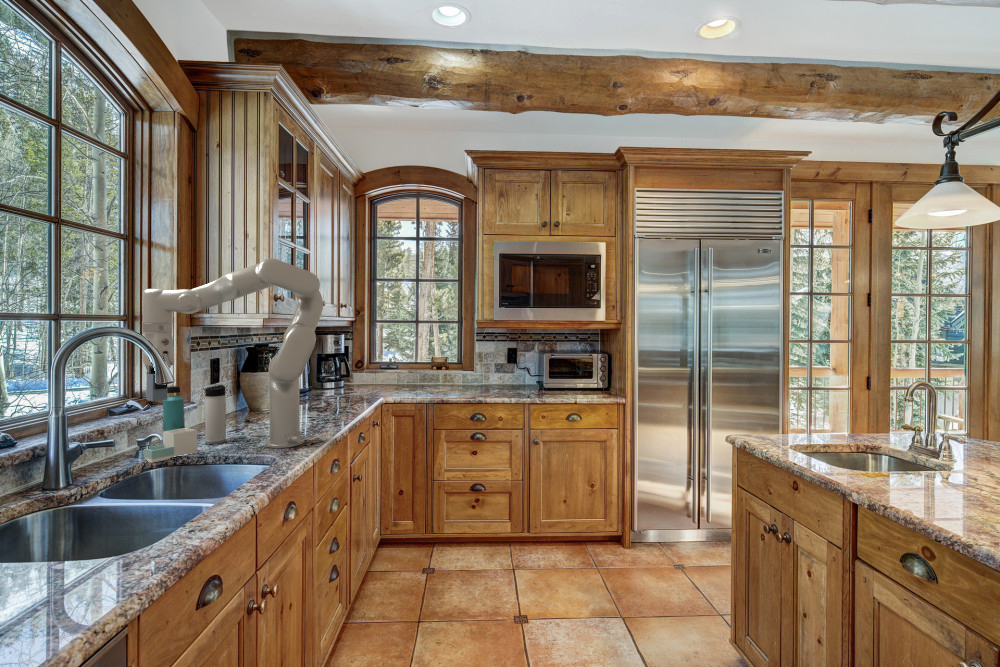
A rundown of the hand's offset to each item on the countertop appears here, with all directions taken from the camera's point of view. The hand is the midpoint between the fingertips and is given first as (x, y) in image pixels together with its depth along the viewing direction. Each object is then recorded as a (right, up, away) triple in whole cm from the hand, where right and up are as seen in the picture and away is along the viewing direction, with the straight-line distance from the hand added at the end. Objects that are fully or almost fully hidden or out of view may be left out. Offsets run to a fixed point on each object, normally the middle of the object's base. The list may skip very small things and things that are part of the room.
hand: (157, 387), depth 149 cm
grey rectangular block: (0, -4, 0) cm, 4 cm away
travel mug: (+6, -22, +21) cm, 31 cm away
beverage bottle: (-9, -22, +20) cm, 31 cm away
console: (+2, -22, +3) cm, 22 cm away
